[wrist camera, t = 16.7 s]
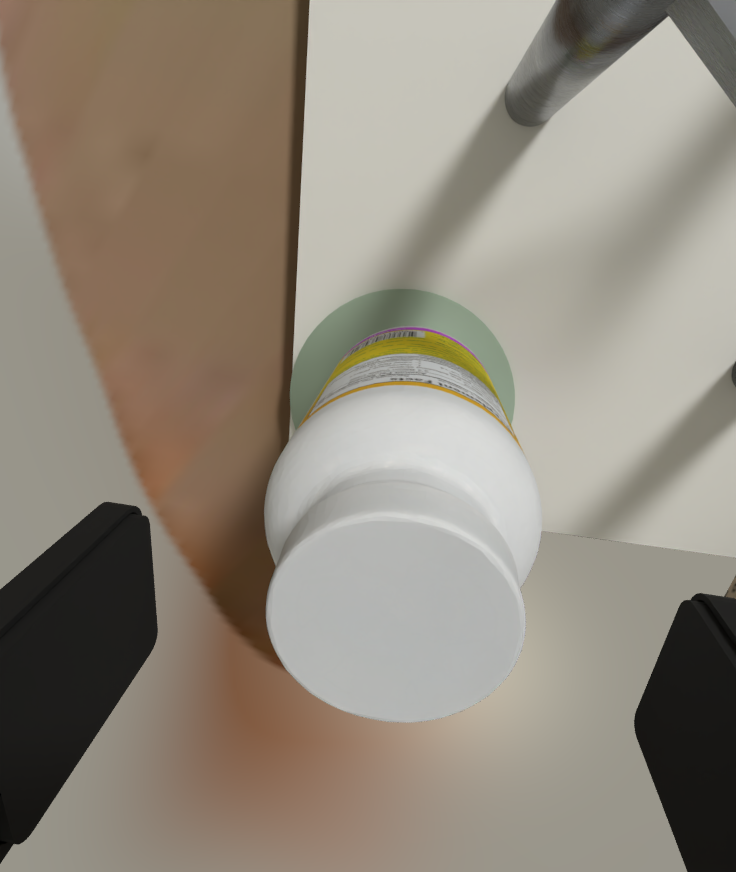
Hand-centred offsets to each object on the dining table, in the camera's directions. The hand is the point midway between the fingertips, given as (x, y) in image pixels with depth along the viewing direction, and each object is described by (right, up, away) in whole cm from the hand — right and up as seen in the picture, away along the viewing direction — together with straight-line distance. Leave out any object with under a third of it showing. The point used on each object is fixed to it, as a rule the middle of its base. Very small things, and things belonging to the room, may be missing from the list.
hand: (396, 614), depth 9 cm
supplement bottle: (+1, +4, +12) cm, 13 cm away
